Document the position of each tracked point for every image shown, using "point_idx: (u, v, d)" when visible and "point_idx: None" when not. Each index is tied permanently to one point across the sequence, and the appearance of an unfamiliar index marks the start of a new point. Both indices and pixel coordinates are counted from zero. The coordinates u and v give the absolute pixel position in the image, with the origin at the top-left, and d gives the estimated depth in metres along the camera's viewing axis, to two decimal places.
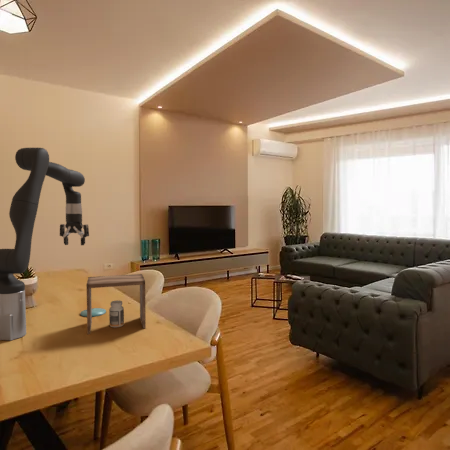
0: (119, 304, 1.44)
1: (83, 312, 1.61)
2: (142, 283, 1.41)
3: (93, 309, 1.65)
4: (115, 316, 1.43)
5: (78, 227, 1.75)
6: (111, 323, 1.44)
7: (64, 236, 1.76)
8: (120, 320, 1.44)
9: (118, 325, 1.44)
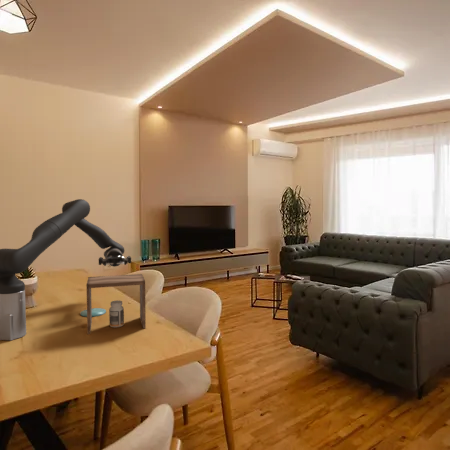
0: (119, 304, 1.44)
1: (83, 312, 1.61)
2: (142, 283, 1.41)
3: (93, 309, 1.65)
4: (115, 316, 1.43)
5: None
6: (111, 323, 1.44)
7: None
8: (120, 320, 1.44)
9: (118, 325, 1.44)
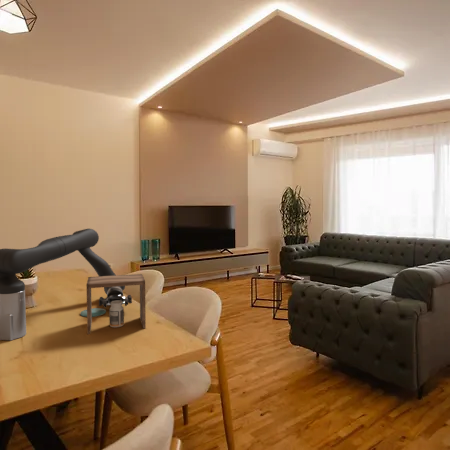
0: (119, 304, 1.44)
1: (83, 312, 1.61)
2: (142, 283, 1.41)
3: (93, 309, 1.65)
4: (115, 316, 1.43)
5: (121, 296, 1.64)
6: (111, 323, 1.44)
7: (105, 299, 1.58)
8: (120, 320, 1.44)
9: (118, 325, 1.44)
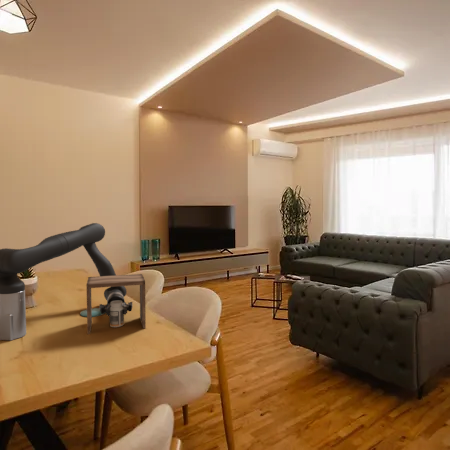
0: (119, 304, 1.44)
1: (83, 312, 1.61)
2: (142, 283, 1.41)
3: (93, 309, 1.65)
4: (115, 316, 1.43)
5: (123, 303, 1.53)
6: (111, 323, 1.44)
7: (107, 307, 1.46)
8: (120, 320, 1.44)
9: (118, 325, 1.44)
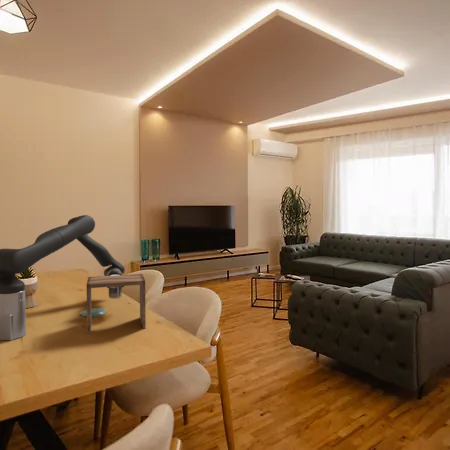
0: None
1: (83, 312, 1.61)
2: (142, 283, 1.41)
3: (93, 309, 1.65)
4: (114, 288, 1.55)
5: None
6: (110, 295, 1.56)
7: None
8: (119, 292, 1.57)
9: (116, 297, 1.56)
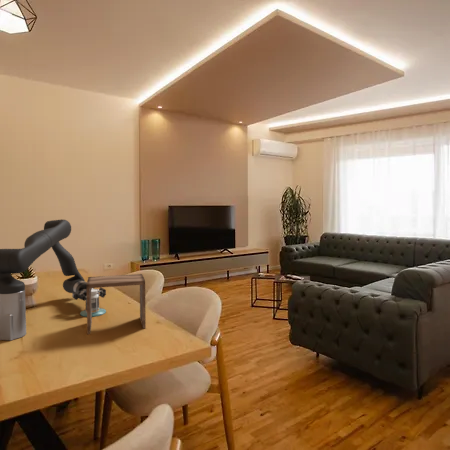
0: (96, 292, 1.60)
1: (83, 312, 1.61)
2: (142, 283, 1.41)
3: None
4: (93, 303, 1.59)
5: None
6: None
7: (81, 293, 1.60)
8: (97, 307, 1.61)
9: (95, 311, 1.60)
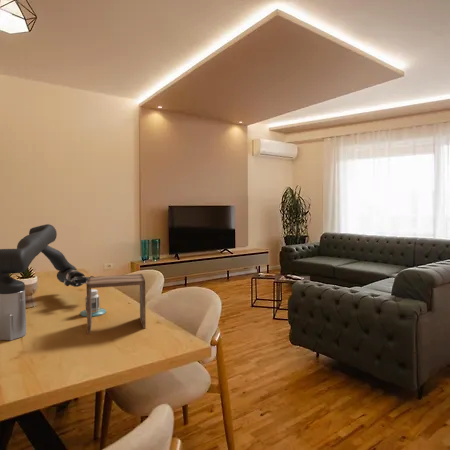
0: (96, 292, 1.60)
1: (83, 312, 1.61)
2: (142, 283, 1.41)
3: None
4: (93, 303, 1.59)
5: None
6: None
7: (72, 280, 1.70)
8: (97, 307, 1.61)
9: (95, 311, 1.60)
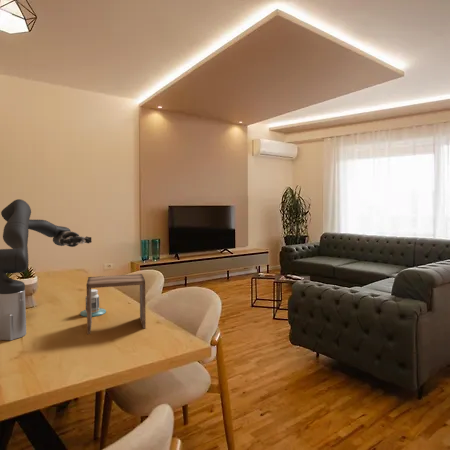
0: (96, 292, 1.60)
1: (83, 312, 1.61)
2: (142, 283, 1.41)
3: None
4: (93, 303, 1.59)
5: None
6: None
7: (67, 238, 1.68)
8: (97, 307, 1.61)
9: (95, 311, 1.60)
